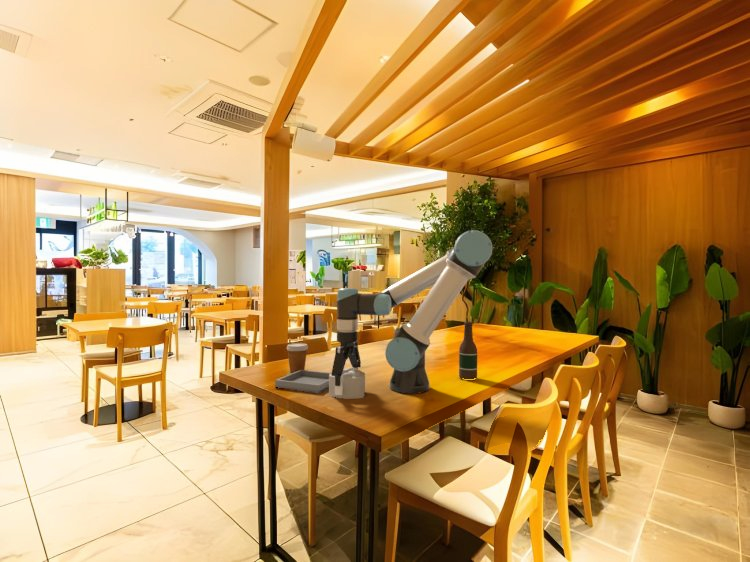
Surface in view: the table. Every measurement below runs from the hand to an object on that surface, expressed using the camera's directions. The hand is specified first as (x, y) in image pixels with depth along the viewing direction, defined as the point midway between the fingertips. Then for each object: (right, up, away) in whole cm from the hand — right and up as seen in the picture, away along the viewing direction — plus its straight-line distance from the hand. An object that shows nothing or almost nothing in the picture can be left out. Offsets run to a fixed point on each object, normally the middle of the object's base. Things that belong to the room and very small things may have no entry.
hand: (346, 389), depth 139 cm
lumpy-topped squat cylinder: (0, -2, 0) cm, 2 cm away
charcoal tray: (-16, -1, +12) cm, 20 cm away
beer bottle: (+49, -2, +23) cm, 54 cm away
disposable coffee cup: (-25, -1, +33) cm, 41 cm away
